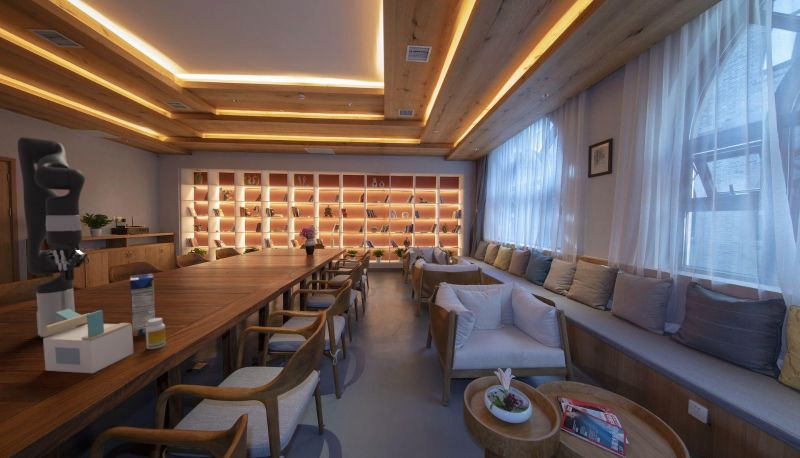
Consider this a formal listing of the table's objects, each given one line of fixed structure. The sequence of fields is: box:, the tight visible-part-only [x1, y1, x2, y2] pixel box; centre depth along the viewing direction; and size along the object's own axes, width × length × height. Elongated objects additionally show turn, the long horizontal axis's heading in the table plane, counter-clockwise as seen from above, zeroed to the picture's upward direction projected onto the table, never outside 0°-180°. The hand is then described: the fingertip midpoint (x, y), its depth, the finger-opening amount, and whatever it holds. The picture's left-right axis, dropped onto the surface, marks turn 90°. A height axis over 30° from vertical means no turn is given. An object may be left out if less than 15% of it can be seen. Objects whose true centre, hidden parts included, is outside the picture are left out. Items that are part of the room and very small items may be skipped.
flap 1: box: [42, 309, 90, 338], centre depth 92 cm, size 4×11×8 cm
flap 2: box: [82, 310, 132, 340], centre depth 91 cm, size 4×11×8 cm, turn 175°
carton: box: [42, 323, 135, 374], centre depth 92 cm, size 16×12×10 cm
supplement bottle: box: [145, 317, 167, 350], centre depth 102 cm, size 5×5×10 cm
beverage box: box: [129, 273, 157, 337], centre depth 116 cm, size 7×11×22 cm, turn 43°
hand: (68, 280), depth 95 cm, fingers closed
